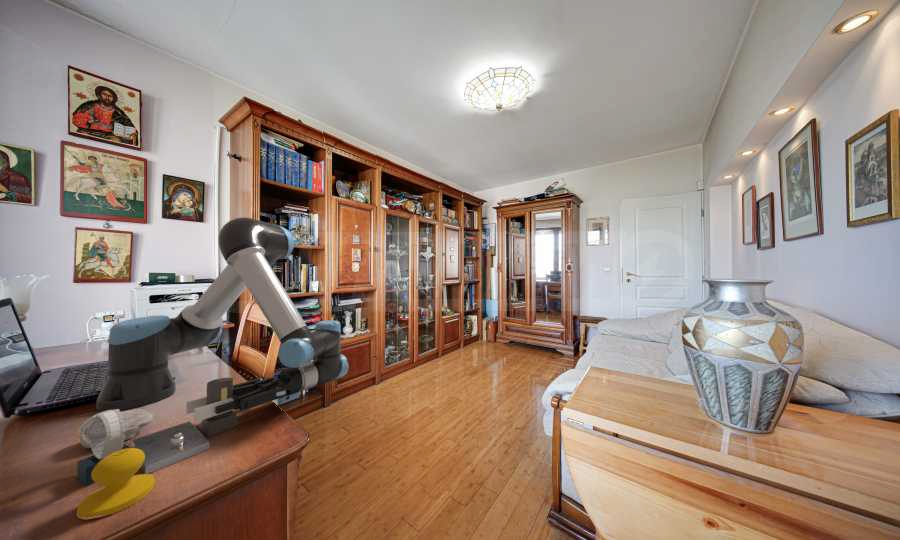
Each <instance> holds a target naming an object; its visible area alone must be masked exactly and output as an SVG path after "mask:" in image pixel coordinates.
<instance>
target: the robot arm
mask: <svg viewBox="0 0 900 540" xmlns="http://www.w3.org/2000/svg"><path fill="white" fill-rule="evenodd" d="M294 244H295V243H294V237H293V235H292V234H291V232H290V231H289V230H288V229H286V228H285V227H284V226H281V225H279V224H276V223H270V222H266V221H263V220H259V219H254V218H252V217H237V218H234V219H233V218H232V219H231V220H229V221H228V222H226V223H225V224H224V225H223V226H222V227H221V229H220V231H219V235H218V247H219V250H220V253H221V255H222V257H223V259H224V260H225V261H226V262H225V263H226V264H227V265H226V266H225V267H224V268H223V270H222V271H221V272H220V274H218V276H217V277H216V278H215V279H214V281H213V282H212V283H211V284H210V285H209V286H208V288H207V289H206V290H205V291H204V292H203V294H202V295H201V296H200V297H199V298H198V300H197V301H196V302H195V303H194V304H190V305H187V306H185V307H184V308H183V309H182V310H181V312H179V314H177V316H176V317H172V318H170V317H169V316H168V315H148V316H140V317H135V318H131V319H126V320H122V321H120V322H118V323H116V324H114V325H113V326H112V327H111V328H110V329H109V334H108V339H107V343H108V357H107V358H108V361H107V362H108V363H107V377H106V381H105V383H104V384H103V386H102V388H101V391H100V393H99V395H98V397H97V399H96V410H97V411H100V412H104V411H108V410H116V409H119V410H120V411H121V410H122V411H123V410H130V409H133V408H138V407H142V406H146V405H150V404H153V403H157V402H159V401H161V399H162V400H164V399H167V398H168V397H170V396H172V395H173V394H175V392H176V386H177V385H176V382H175V379H174V377H173V375H172V373H171V370H170V368H169V356H173V355H177V354H180V353H184V352H189V351H192V350H196V349H202V348H204V347H206V346H209V345H211V344H213V343H215V342H216V341H217V340H218V339H219V338H220V337H221V335H222V333H223V327H224V325H223V321H224V320H223V316H224V315H225V313H226V312H228V310H229V309H230V308H231V307H232V306H233V304H234V303H235V302H236V301H237V299H238V298H239V297H240V296H241V295H242V294H243V293H244V291H245V290H246V289H248V291H249V293H250V294H251V297H252V298H253V300H254V301H255V302H256V305H257V306H258V308H259V309H260V312H262V314H263V316H264V317H265V318H264V319H266V321H267V323H268V324H269V326H270V328H271V329H272V331H273V333H274V334H275V336H276V337H277V339H278V340H279V342H280V344H281V345H280V346H279V348H278V351H277V353H278V359H279V362H280V363H281V364H282V365H283V366H285V367H286V368H284V369H281V370H280V371H279V373H278V375H277V376H276V377H268V378H266V379H265V376H261V377H258V378H255V379H251V380H247V381H244V382H241V383H237V384H233V401H232V398H229V399H225V400H222V401H219V402H215V403H212V404H209V405H206V401H207V395H204V396H201V397H198V398H195V399H191V400H188V401H186V403H185V404H186V407H185V408H186V409H185V411H186V412H185V414H186V415H190V414H193V413H194V415H193V419H194V420H193V421H194V423H197V422H200V421H201V422H202V420H204V419H207V418H210V417H213V416H216V415H219V414H222V413H225V412H228V411H231V410H233V411H238V410H239V412H244V411H248V410H249V409H252V408H255V407H258V406H261V405H264V404H266V403H267V404H268V403H269V402H272V401H275V400H278V399H284V398H285V397H289V396H292V395H296V394H298V393H299V392H303V391H309V389H312V388H315V387H318V386H320V385H324V384H326V383H328V382H333V381H335V380H337V379H340V378H342V377H344V376H345V375H347V373H348V370H349V363H348V359H347V357H346V356H345V354H341V342H342V341H341V339H342V336H341V335H342V331H341V329H342V328H341V322H340V321H339V320H333V319H331V320H320V321H318V322H316V324H315V329H314V330H313V331H311V330H310V328H309V327H308V325H307V324H306V322H305V320H304V319H303V317H302V315H301V314H300V313H299V310H298V308H297V307H296V306H295V304H294V302H293V300H292V299H291V297H290V295H289V294H288V292H287V291H286V289H285V288H284V287H283V284H282V283H281V281H280V279H279V278H278V276H277V275H276V273H275V271H274V270H273V268H272V266H273V265H274V264H275V262H276V261H277V260H283V259H285V258H287V257H289V256H290V255H291V254H292V252H293V250H294ZM314 359H315V360H314ZM171 394H172V395H171ZM158 400H159V401H158Z"/></svg>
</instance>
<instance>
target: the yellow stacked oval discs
mask: <svg viewBox="0 0 900 540" xmlns="http://www.w3.org/2000/svg"><path fill="white" fill-rule="evenodd" d="M144 460H145V454H144V452H143V451H142V450H140V449H137V448H132V447H130V448H127V449H123V450H119V451H116V452H114V453H112V454H110V455H108V456H106V457H105V458H103V459H102V460H101V461H100V462H99V463H98V464H97V465H96V466H95V467H94V469H93V471H92V473H91V477H92V479H93V481H94V482H95V484H98V485H99V486H102V487H100V488H98V489H97V490H95V491H93V492H92V493H90V494H89V495H88V496H86V497H85V498H84V499H82V501H80V502H79V504H78V506H77V509H76V515H77V514H78V516H80V517H86V518H88V517H93V516H99V515H100V516H101V515H106V514H111V515H113V514H112V513H114V514H116V513H118V511H119V512H121V511H123V510H125V509H127V508H129V507H131V506H133V505H135V504H136V503H138V502H140V501H141V500H143V498H144V499H145V497H146V496H147V495H148V494H149V493H151V492H152V491H153V489H154V487H155V483H156V480H155V479H156V478H155V476H154V475H152V474H151V473H149V474H145V473H142V474H141V473H140V474H136V473H137V472H138V471H139V470H140V468H142V467H141V466H142V464H143V462H144ZM128 506H129V507H128ZM124 508H125V509H124ZM122 509H123V510H122ZM120 510H121V511H120ZM115 512H116V513H115Z"/></svg>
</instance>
